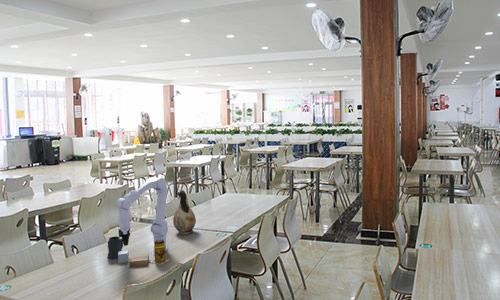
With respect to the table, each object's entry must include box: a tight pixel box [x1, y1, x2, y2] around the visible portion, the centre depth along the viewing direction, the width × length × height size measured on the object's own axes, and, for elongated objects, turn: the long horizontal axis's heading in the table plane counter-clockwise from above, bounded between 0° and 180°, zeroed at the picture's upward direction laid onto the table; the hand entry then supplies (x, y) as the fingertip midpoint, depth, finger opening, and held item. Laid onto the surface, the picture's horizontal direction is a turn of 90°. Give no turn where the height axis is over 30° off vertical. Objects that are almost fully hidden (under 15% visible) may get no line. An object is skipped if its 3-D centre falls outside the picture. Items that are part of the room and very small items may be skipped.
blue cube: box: [117, 250, 130, 264], centre depth 231 cm, size 5×5×5 cm
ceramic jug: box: [172, 189, 197, 235], centre depth 281 cm, size 17×15×30 cm
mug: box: [106, 236, 124, 260], centre depth 240 cm, size 12×9×11 cm
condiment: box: [150, 240, 170, 265], centre depth 228 cm, size 7×8×12 cm
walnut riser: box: [128, 253, 150, 268], centre depth 227 cm, size 10×10×3 cm
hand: (125, 243), depth 230 cm, fingers open, 7 cm apart
